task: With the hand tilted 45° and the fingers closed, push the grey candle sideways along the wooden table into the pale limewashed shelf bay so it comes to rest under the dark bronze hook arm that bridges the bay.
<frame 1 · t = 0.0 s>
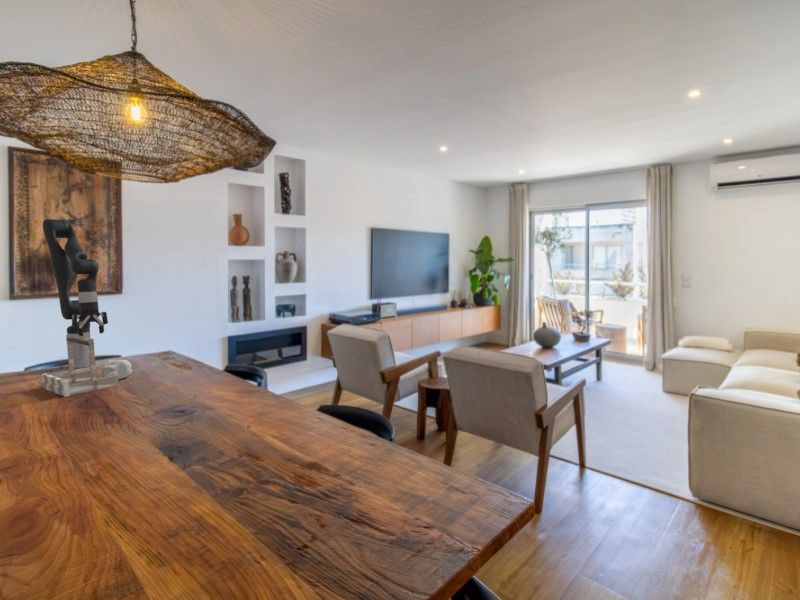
hand: (91, 334, 210), 17 cm above the table, tool pointing down, fingers open, 8 cm apart
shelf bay: (83, 385, 185), on the table
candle: (119, 378, 196), on the table
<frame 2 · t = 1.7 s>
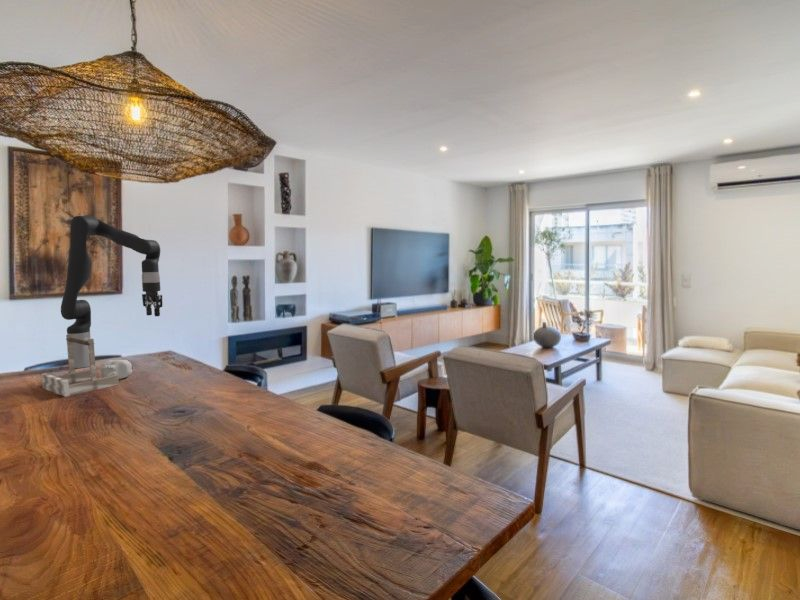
hand: (153, 315, 212), 26 cm above the table, tool pointing down, fingers open, 6 cm apart
nothing on the table moved.
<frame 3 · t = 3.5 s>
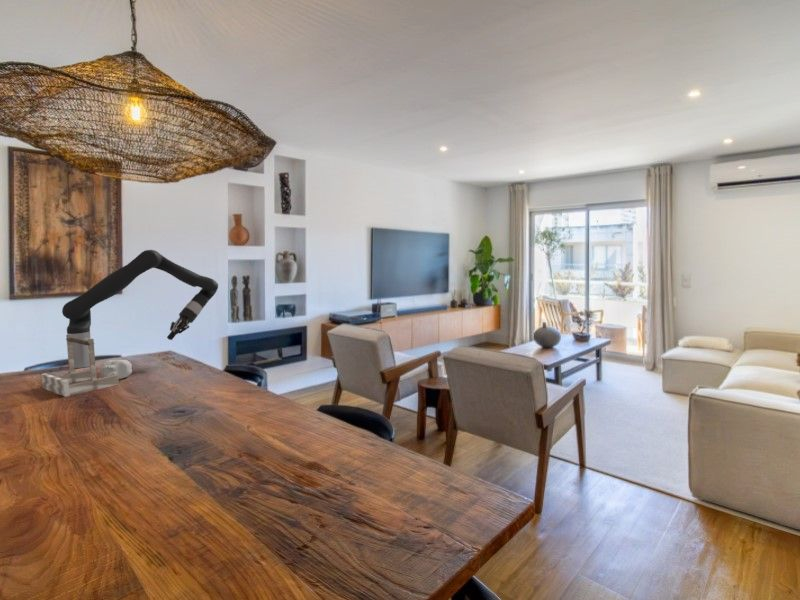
hand: (169, 338, 215), 14 cm above the table, tool tilted 45°, fingers closed
nothing on the table moved.
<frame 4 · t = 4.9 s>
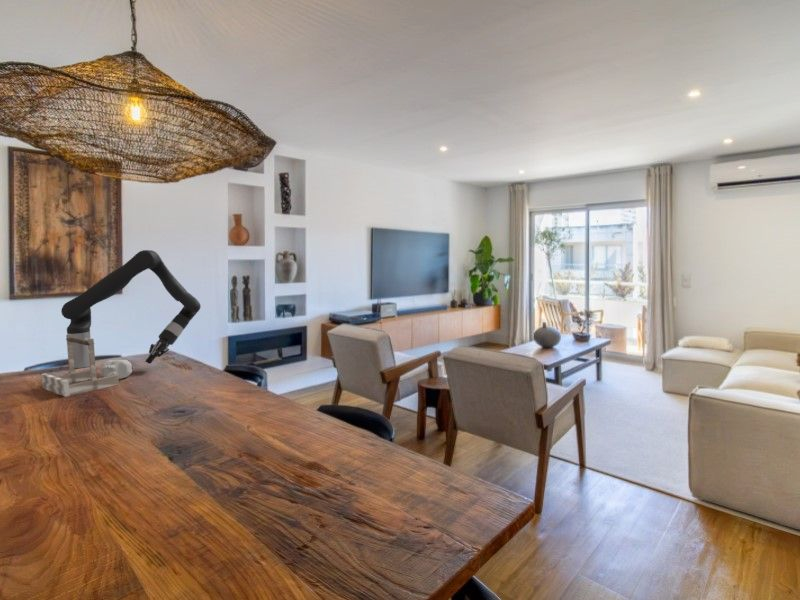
hand: (147, 362, 207), 4 cm above the table, tool tilted 45°, fingers closed
nothing on the table moved.
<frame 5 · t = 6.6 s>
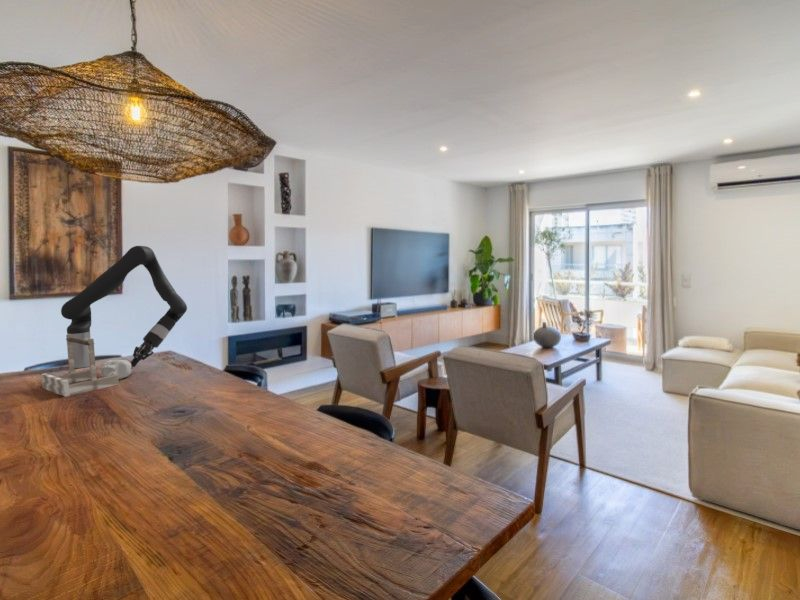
hand: (131, 365, 201), 4 cm above the table, tool tilted 45°, fingers closed
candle: (118, 378, 196), on the table, touching gripper
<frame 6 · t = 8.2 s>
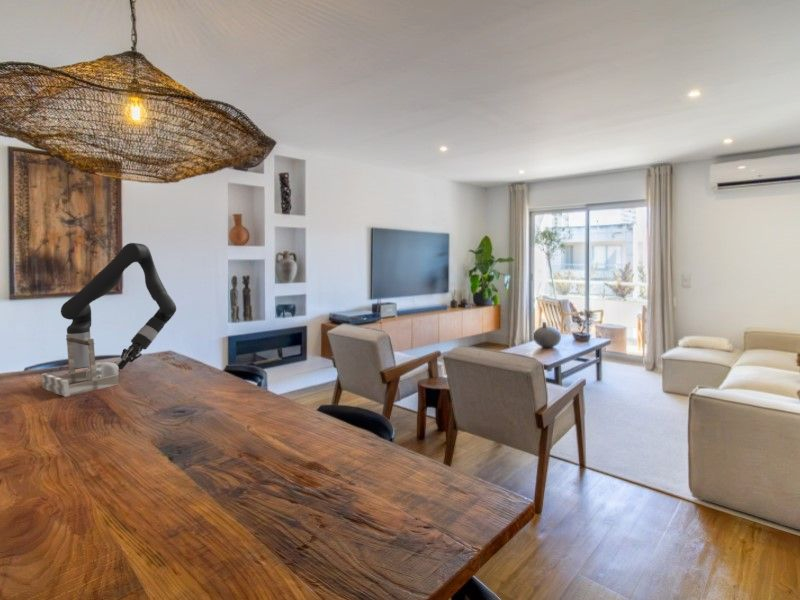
hand: (118, 368, 196), 4 cm above the table, tool tilted 45°, fingers closed
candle: (105, 381, 192), on the table, touching gripper
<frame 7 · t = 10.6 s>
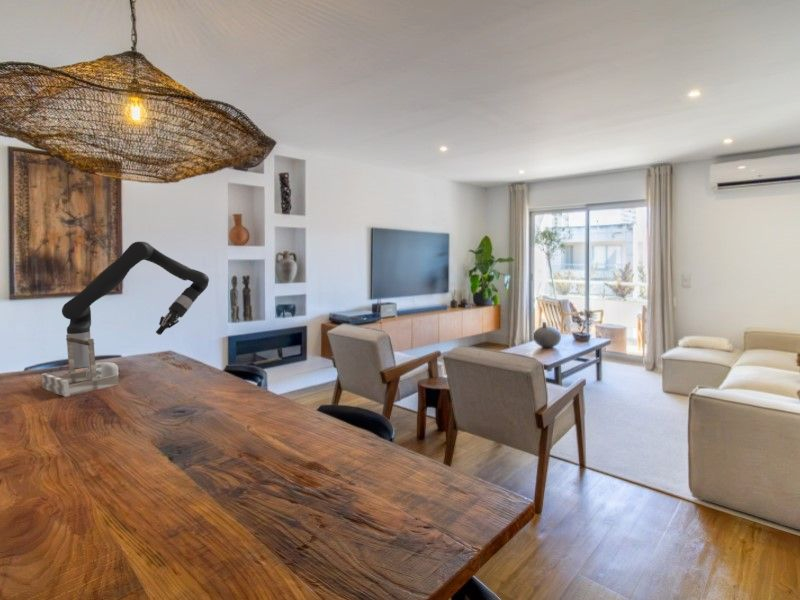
hand: (158, 333, 210), 17 cm above the table, tool tilted 45°, fingers closed
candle: (105, 381, 192), on the table
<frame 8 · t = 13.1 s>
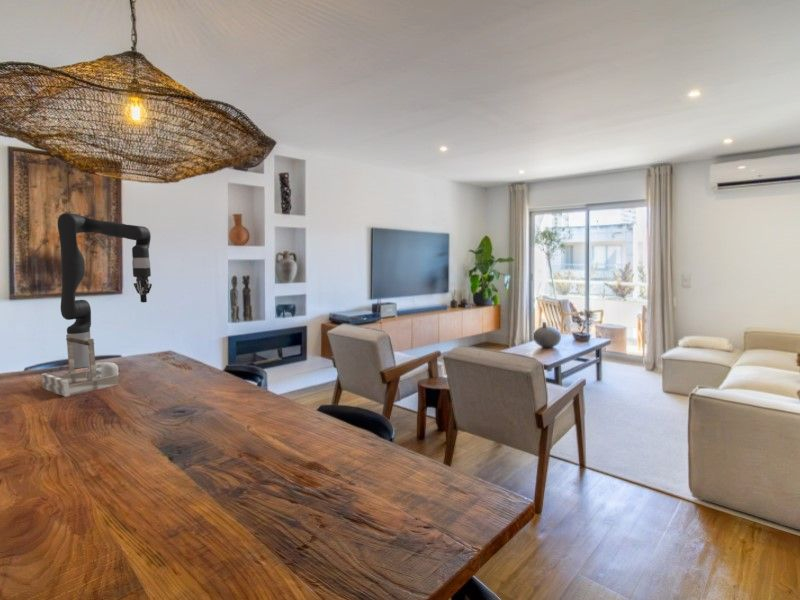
hand: (143, 302, 216), 32 cm above the table, tool pointing down, fingers closed
nothing on the table moved.
at the end: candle inside the target area (7.4 cm from its centre), on the table; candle moved 5.6 cm from its start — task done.
